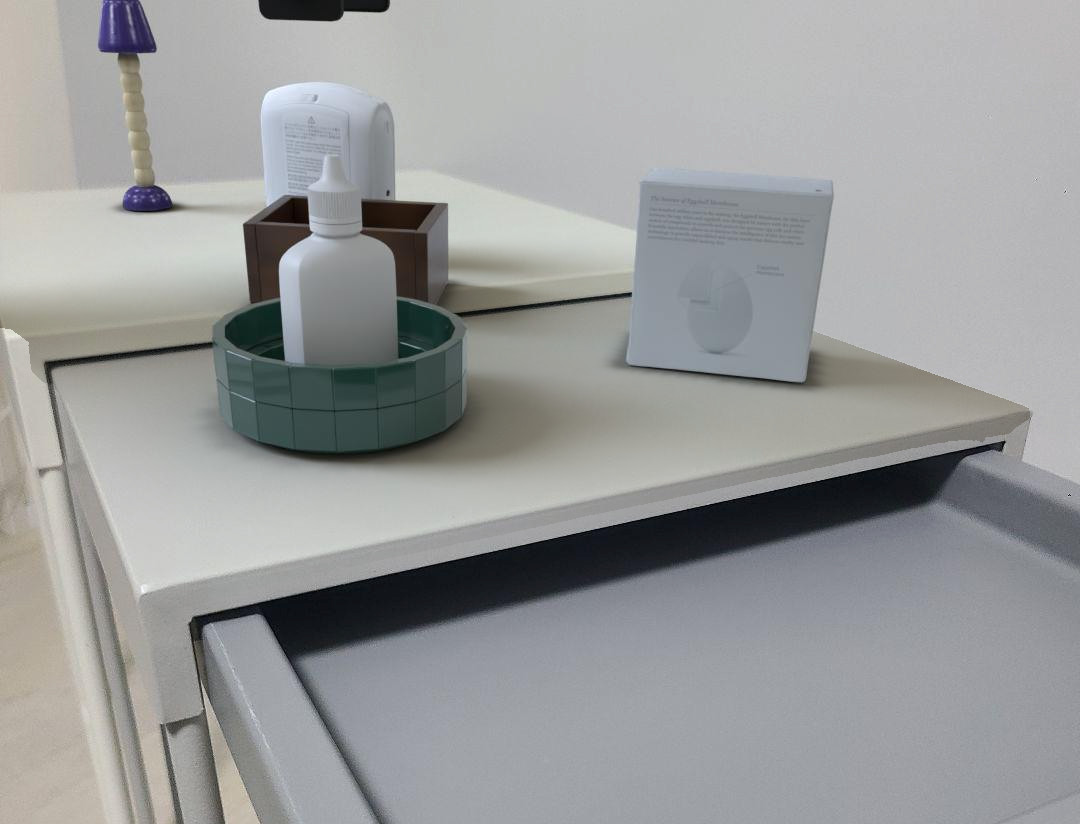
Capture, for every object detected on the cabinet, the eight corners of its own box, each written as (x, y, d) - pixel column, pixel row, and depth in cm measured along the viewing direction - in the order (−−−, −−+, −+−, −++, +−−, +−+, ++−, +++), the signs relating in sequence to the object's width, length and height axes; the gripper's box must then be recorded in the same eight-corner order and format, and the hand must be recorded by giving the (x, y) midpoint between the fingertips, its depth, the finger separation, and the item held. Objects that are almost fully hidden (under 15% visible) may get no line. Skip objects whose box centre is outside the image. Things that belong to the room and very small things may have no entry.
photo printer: (405, 257, 83) (402, 85, 77) (379, 269, 80) (373, 90, 74) (291, 241, 86) (280, 75, 80) (261, 252, 83) (246, 79, 77)
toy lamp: (112, 204, 96) (81, -4, 88) (161, 199, 99) (136, -3, 91) (135, 213, 93) (106, -1, 85) (185, 208, 96) (161, 0, 88)
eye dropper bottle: (287, 390, 56) (268, 147, 50) (395, 385, 57) (388, 148, 51) (289, 422, 52) (269, 163, 46) (405, 416, 53) (399, 163, 47)
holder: (250, 311, 69) (242, 223, 67) (289, 274, 78) (283, 194, 75) (428, 321, 69) (427, 233, 66) (448, 282, 77) (448, 202, 75)
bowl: (186, 453, 49) (173, 360, 47) (262, 366, 60) (254, 287, 58) (448, 468, 49) (447, 375, 47) (477, 378, 60) (478, 299, 58)
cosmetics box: (806, 351, 66) (835, 175, 61) (805, 385, 61) (836, 195, 56) (639, 333, 68) (654, 161, 63) (623, 365, 63) (638, 179, 58)
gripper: (264, -442, 46) (297, 6, 54) (90, -649, 30) (172, 21, 38) (439, -439, 45) (445, 11, 53) (352, -647, 30) (379, 28, 38)
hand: (331, 15), depth 46 cm, fingers open, 9 cm apart
